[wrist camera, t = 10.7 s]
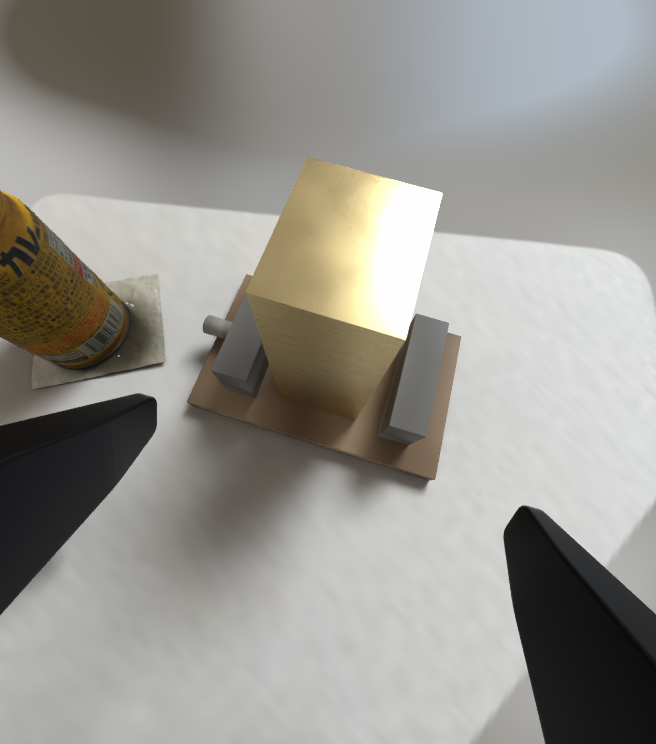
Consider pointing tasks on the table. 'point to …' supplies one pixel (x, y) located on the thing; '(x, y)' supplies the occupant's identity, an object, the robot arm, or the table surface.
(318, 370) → the brass block
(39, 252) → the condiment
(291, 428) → the vise
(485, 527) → the table surface
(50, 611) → the table surface
